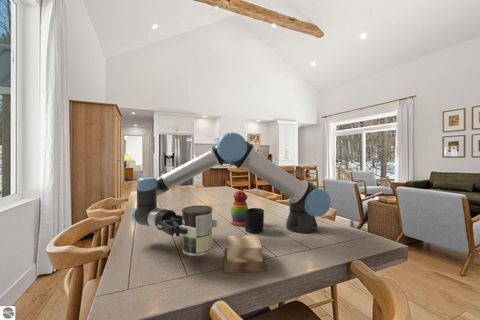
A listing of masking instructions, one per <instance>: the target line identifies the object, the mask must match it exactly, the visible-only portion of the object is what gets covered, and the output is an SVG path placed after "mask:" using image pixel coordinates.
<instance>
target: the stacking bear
mask: <svg viewBox="0 0 480 320" xmlns="http://www.w3.org/2000/svg"><path fill="white" fill-rule="evenodd" d="M248 198H249V197H248V195H247V194H246V192H244V191H243V190H241V189H239V190H236V191H235V192H234V194H233V199H234V201H233V202H232V205H231V209H230V212H231V213H230V214H231V219H232V220H231V225H232V226H236V227H241V228H243V227H244V228H245V211H246V210H248V209H249V207H248V204H247V201H246V200H248Z"/></svg>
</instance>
